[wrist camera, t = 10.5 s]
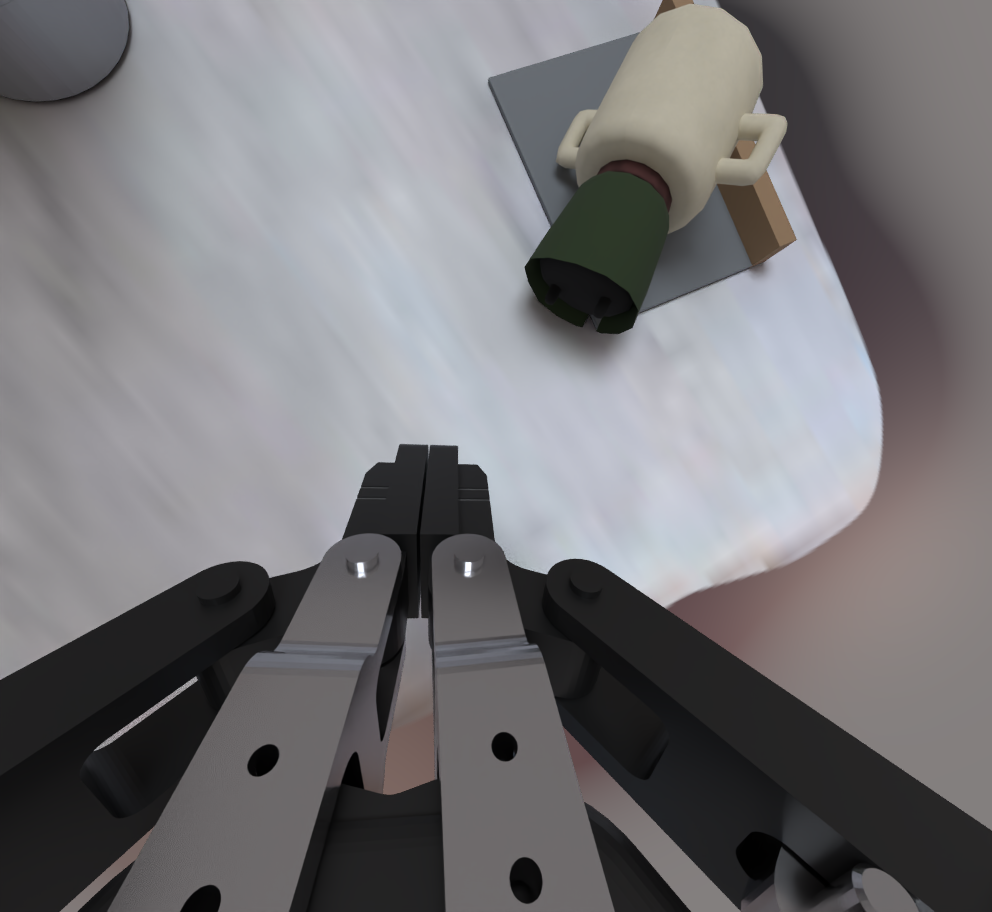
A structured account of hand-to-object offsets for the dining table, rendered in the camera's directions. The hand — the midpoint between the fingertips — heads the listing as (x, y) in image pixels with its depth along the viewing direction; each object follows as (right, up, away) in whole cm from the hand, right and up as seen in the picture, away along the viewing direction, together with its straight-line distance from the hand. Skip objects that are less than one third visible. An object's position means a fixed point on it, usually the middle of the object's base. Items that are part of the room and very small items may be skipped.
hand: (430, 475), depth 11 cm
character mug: (+6, +8, +10) cm, 14 cm away
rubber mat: (+9, +18, +14) cm, 24 cm away
